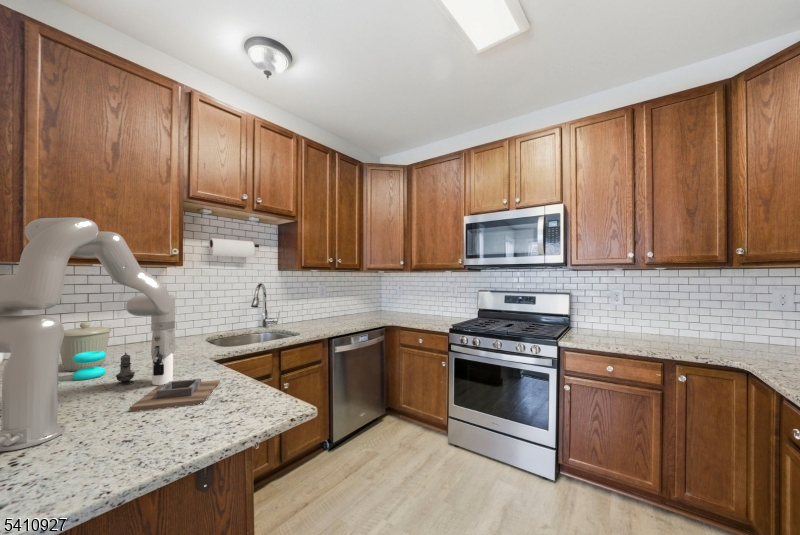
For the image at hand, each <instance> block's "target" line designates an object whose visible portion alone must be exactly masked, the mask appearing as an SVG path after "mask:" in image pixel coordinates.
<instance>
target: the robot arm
mask: <svg viewBox="0 0 800 535" xmlns="http://www.w3.org/2000/svg"><path fill="white" fill-rule="evenodd" d="M24 234H25V237H26V239H27V240H28V241H29V242H27V244H26V245H25V247H24V249H23V250H22V252H21V255H20V258H19V259H20V260H19V263H18V266H17V271H16V273H15V274H13V273H12V274H11V273H10V274H4V275H0V354H4V353H5V354H10V355H9V357H8V359H7V361H6V363H5V365H4V367H3V369H2V374H1V412H0V416H1V417H0V452H10V451H15V450H16V451H17V450H21V449H25V448H29V447H33V446H36V445H39V444H43V443H46V442H48V441H51V440H53V439H55V438H57V437H59V436H60V435H62V434H63V433H65V431H66V427H67V426H66V424H64V423H63V422H61V423H60V422H58V418H59V417H58V411H59V410H58V408H59V407H58V406H59V363H60V362H59V361H60V360H59V359H60V349H61V345H62V342H63V338H64V331H65V328H64V325H63V323H62V322H61V321H60V320H59V319H56V318H54V317H52V316H47V315H36V314H35V315H33V314H29V315H26V311H40V310H48V309H52V308H55V307H56V306H57V305H58V304H59V303H60V301H61V299H62V296H63V292H64V291H63V290H64V284H65V279H66V271H67V268H68V267H67V266H68V262H69V260H70V258H71V257H72V256H73V257H78V258H96V259H98V261H99V262H100V264H101V265H102V267H103V268H104V270H105V271H106V272H107V274H108V276H109V277H110V279H111V280H112V281H113V282H115V283H117V284H120V285H122V286H125V287H129V288H131V289H134V290H137V291H138V292H140V293H142V294H143V295H137V296H132V297H131V298H130V299H129V300H128V301H127V302H126V304H125V308H126V311H127V312H128V313H129V314H130V315H132V316H137V317H150V319H151V320H150V331H151V332H152V335H151V348H150V350H151V351H150V352H151V353H150V354H151V360H153V375H154V376H157V375H163V374H164V364H163V359H164V357H167V356H169V355H170V354H171V353H172V354H173V353H175V351H176V347H177V346H176V332H175V329H176V297H175V295H173V294H171V293H170V292H169V291H168V289H167V287H166V286H165V284H164V283H162V282H161V281H160V280H158V279H157V277H155V276H153V274H151V273H149V272H148V271H145V270H144V269H142V267H141V266H140V264H139V262H138V260H137V259H136V257H135V256H134V253H133V252H132V251H131V249H130V247H129V245H128V244H127V242H126V240H125V239H124V237H123V236H122V235H120V234H119V233H117V232H113V231H103V230H102V231H101V230H100V231H99V226H98V225H97V223H96V222H95V221H93V220H91V219H88V218H84V217H76V216H75V217H74V216H71V217H46V218H37V219H34V220H32V221H30V222H29V223H27V225H26V226H25V229H24ZM158 355H162V356H158ZM158 358H161V360H160V359H158Z"/></svg>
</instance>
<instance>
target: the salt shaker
mask: <svg viewBox="0 0 800 535" xmlns="http://www.w3.org/2000/svg"><path fill="white" fill-rule="evenodd" d="M131 365H132V363H131V355H130V354H127V352H124V355H123V354H122V355H121V356H120V364H119V369H120V370H119V373H117V374H116V375H115V378H116V380H117V381H118V382H117V383H116V386H117V387H118V386H120V387H121V386H128V385H132V384H133V383H135V381H134V380H133V378H134V376H135V374H136V372H135V371H132V369H131Z"/></svg>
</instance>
